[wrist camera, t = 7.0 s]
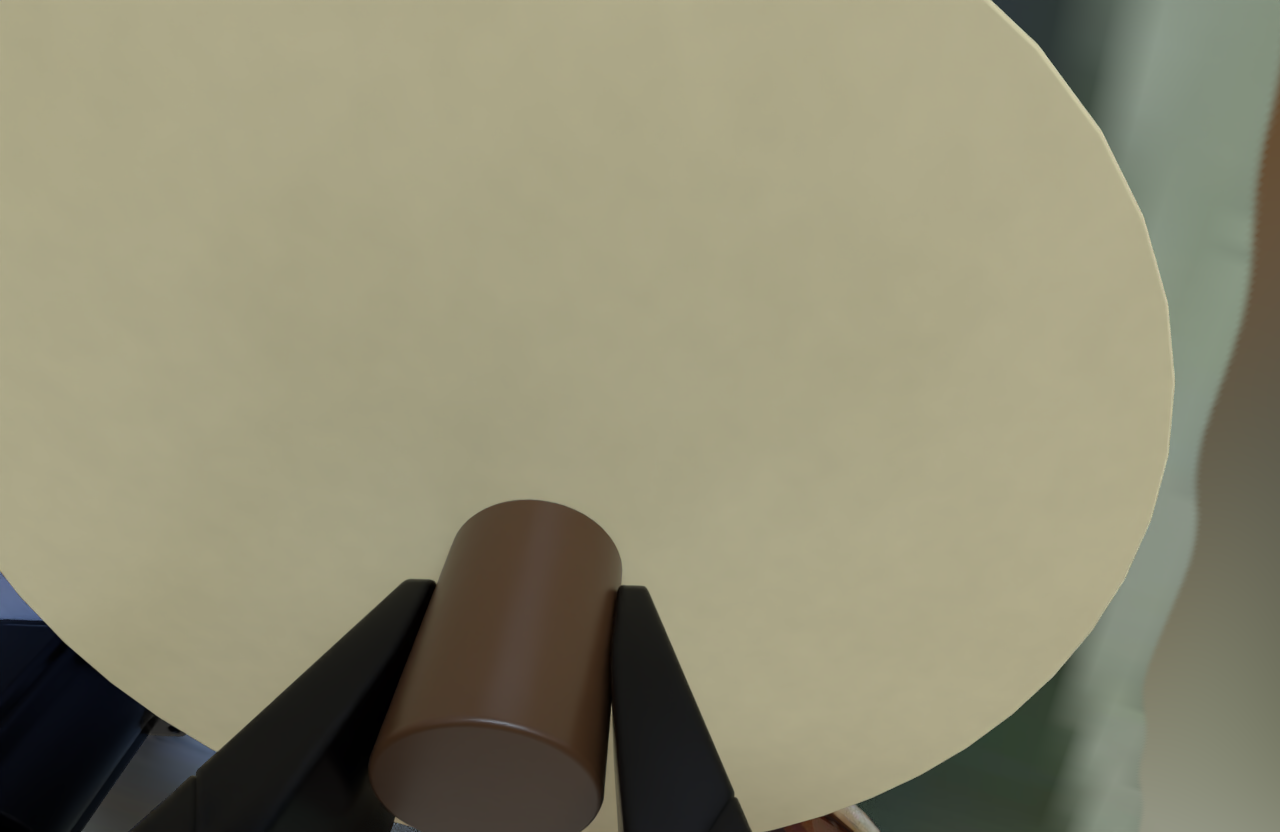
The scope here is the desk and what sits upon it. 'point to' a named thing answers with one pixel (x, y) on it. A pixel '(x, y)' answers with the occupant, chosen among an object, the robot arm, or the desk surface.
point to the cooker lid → (573, 373)
